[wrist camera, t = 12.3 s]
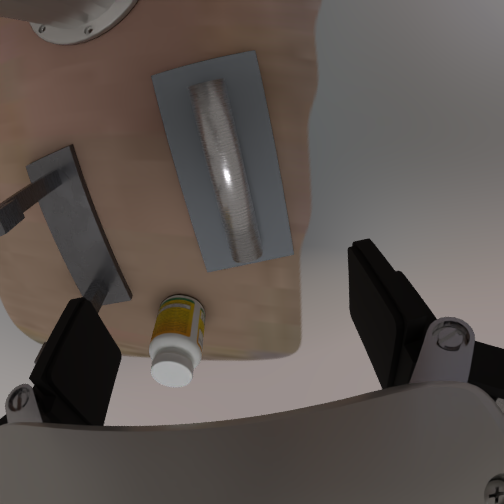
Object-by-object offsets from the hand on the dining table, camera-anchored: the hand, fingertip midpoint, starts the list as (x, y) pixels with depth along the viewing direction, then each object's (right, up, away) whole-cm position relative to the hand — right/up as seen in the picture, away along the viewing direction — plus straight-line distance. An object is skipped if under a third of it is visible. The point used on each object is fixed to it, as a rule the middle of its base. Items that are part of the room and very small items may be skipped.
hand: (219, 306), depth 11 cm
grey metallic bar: (-1, +8, +16) cm, 18 cm away
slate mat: (-1, +9, +17) cm, 20 cm away
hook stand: (-17, +4, +19) cm, 26 cm away
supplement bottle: (-7, -5, +25) cm, 27 cm away
